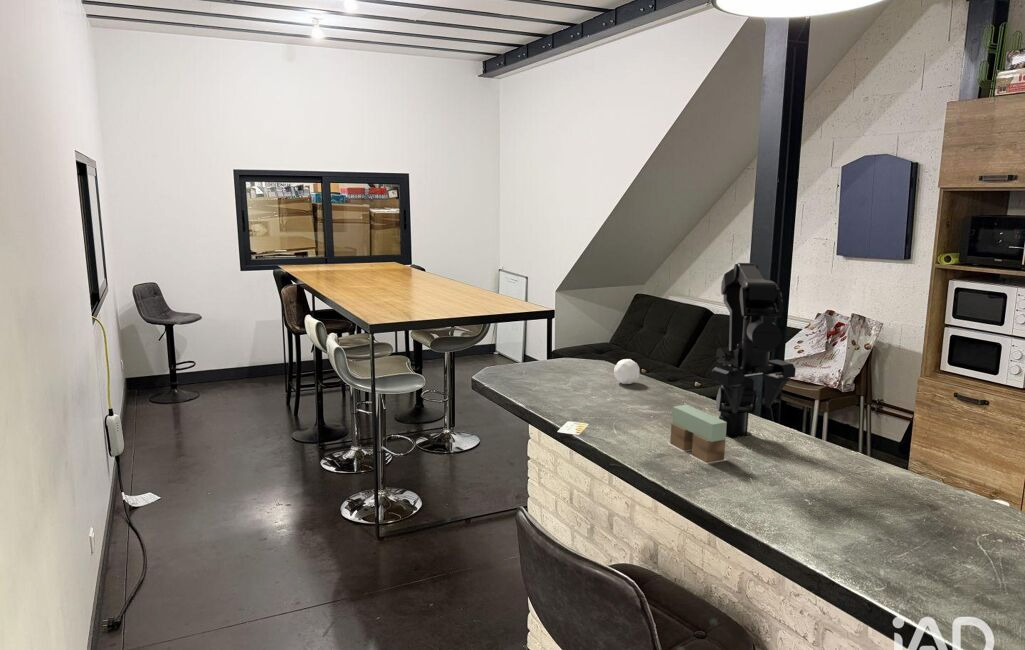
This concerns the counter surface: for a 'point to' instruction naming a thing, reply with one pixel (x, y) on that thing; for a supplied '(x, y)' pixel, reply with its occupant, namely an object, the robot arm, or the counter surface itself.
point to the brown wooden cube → (681, 437)
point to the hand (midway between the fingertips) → (751, 410)
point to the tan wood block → (708, 449)
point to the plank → (699, 423)
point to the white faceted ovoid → (626, 371)
